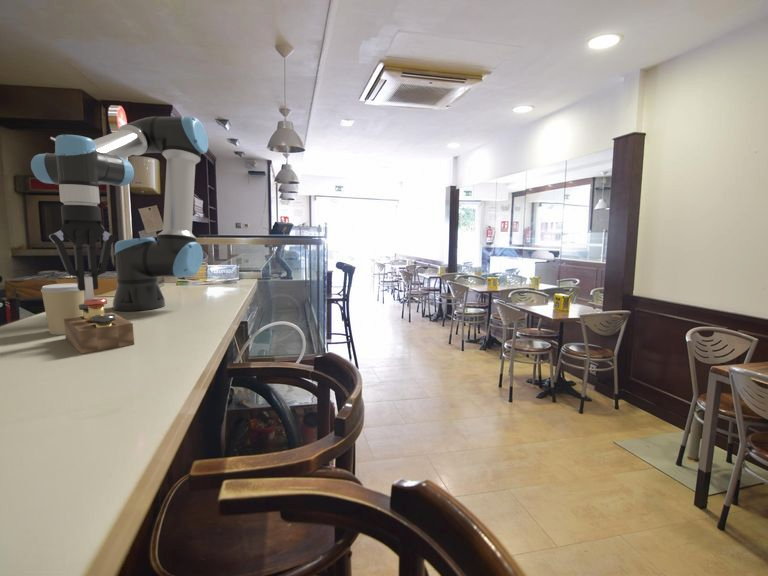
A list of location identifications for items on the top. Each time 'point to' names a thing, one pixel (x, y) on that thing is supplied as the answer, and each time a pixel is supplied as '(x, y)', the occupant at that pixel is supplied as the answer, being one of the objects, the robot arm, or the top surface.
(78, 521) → the top surface
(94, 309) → the plunger red
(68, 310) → the coffee cup
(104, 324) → the plunger
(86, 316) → the plunger
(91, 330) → the walnut block
